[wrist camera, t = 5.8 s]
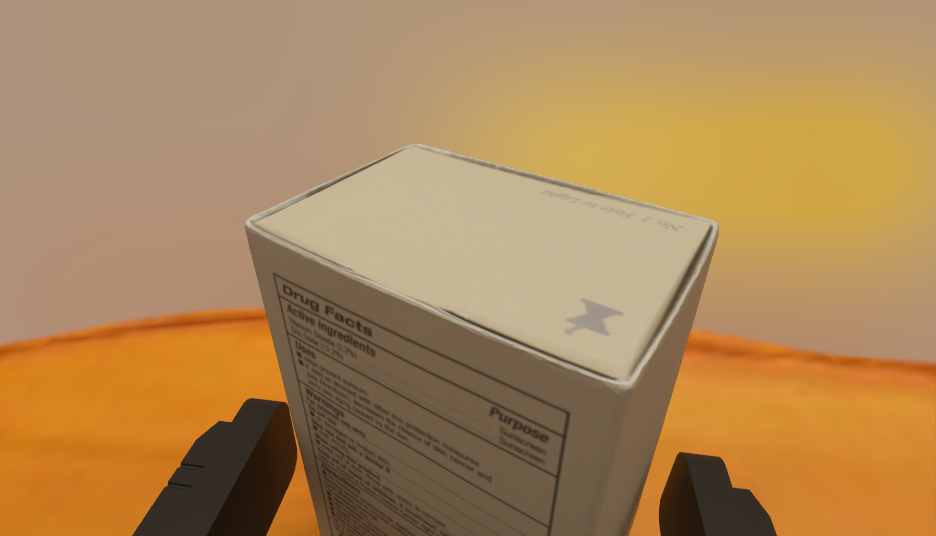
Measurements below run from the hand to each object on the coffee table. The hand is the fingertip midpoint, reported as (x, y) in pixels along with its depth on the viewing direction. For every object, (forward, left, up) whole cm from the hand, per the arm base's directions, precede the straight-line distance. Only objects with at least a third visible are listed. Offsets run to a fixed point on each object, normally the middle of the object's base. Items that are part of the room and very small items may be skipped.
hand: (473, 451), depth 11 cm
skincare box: (0, 0, -7) cm, 7 cm away
